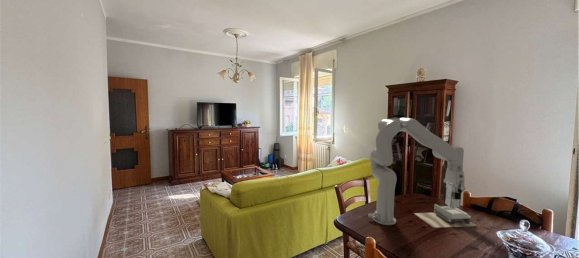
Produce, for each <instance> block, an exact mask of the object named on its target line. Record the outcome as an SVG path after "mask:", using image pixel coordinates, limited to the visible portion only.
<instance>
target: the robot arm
mask: <svg viewBox="0 0 579 258" xmlns="http://www.w3.org/2000/svg"><path fill="white" fill-rule="evenodd" d="M377 127H378V131H379V132H378V133H377V135H376V138H375V148H374V149H372V151H371V152H370V168H371V174H372V176H373V178H374V179H376V180H377V181H378V184H377V187H376V188H377V189H376V206H375V207H376V210H375V211H374V212H373V213H368V214H367V217H368V218H372V219H373V221H375V222H376V223H377V224H380V225H385V226H394V225H395V224H396V223H397V219H396V218H395V217H394V208H395V189H396V184H397V174H396V172H395V171H394V170H393V169H391V168H389V166H391V165H392V164H393V160H394V159H393V158H394V157H393V148H392V141H393V138H394V137H395V136H396V135H397V134H398V133H400V132H405V133H406V134H408V135H409V136H411V137H412V138H413V139H414V140H415V141H417V142H418V143H419V144H421V145H422V146H424V147H426V148H428V149H431V150H432V151H431V152H432V155H433V156H434V157H435V158H437V159H441V160H444V161H446V162H447V163H446V164H447V165H446V171H445V177H444V179H443V184H444V185H445V189H446V182H447V181H448V182H451V183H452V184H454V187H455V189H456V192H455V199H461V200H462V193H463V192H464V191H466V187H465V173H464V171H463V170H464V168H463V167H464V153H465V152H464V150H465V149H464V148H463V146H456V145H455V146H453V145H451V144H449V143H448V142H447V141H446V140H444V139H442V138H440V137H439V136H438V135H436V134H434V133H433V132H431V131H430V130H429V129H427V128H426V127H425V126H424V125H423V124H421V122H419V121H418V120H417V119H415V118H411V117H396V118H395V117H394V118H384V119H381V120H380V121H379V122H378V124H377ZM458 186H460V187H458ZM458 188H459V190H458Z"/></svg>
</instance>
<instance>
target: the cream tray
mask: <svg viewBox="0 0 579 258" xmlns="http://www.w3.org/2000/svg"><path fill="white" fill-rule="evenodd" d="M413 214H414V215H415V216H417V218H419V219H420V220H422V221H424V222H425V224H427V225H428V226H430V227H432V228H433V229H442V228H443V229H446V228H463V227H465V228H466V227H477V224H475V223H473V222H471V221H470V223H468V224H467V223H465V222H464V221H455V224H452V223H450V222H448V221H446V220H445V219H443V218H442V217H440V216H439V215H437V214H435V212H434V211H433V212H414V213H413Z"/></svg>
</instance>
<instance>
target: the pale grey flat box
mask: <svg viewBox="0 0 579 258" xmlns="http://www.w3.org/2000/svg"><path fill="white" fill-rule="evenodd" d="M433 209H434V210H433V213H434V212H435V214H437V215H439V216H440V217H442V218H443V219H445V220H446V221H448V222H450V223H452V224H455V221H464V222H465V223H467V224H468V223H470V222H471V219H472V216H471V215H470V214H469V213H468V212H466V211H463V210H461V209H460V208H457V207H449V206H448V205H444V206H441V205H438V204H437V203H434V204H433Z"/></svg>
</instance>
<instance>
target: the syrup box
mask: <svg viewBox="0 0 579 258" xmlns="http://www.w3.org/2000/svg"><path fill="white" fill-rule="evenodd" d="M458 187H460V186H458ZM458 190H459V188H458ZM455 192H456V189H455V187H454V184H452V183H451V182H448V181H447V182H446V188H445V199H444V200H445V201H444V203H445V206H449V207H456V208H458V209H460V208H461V202H462V201H461V200H462V198H461V199H455Z"/></svg>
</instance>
